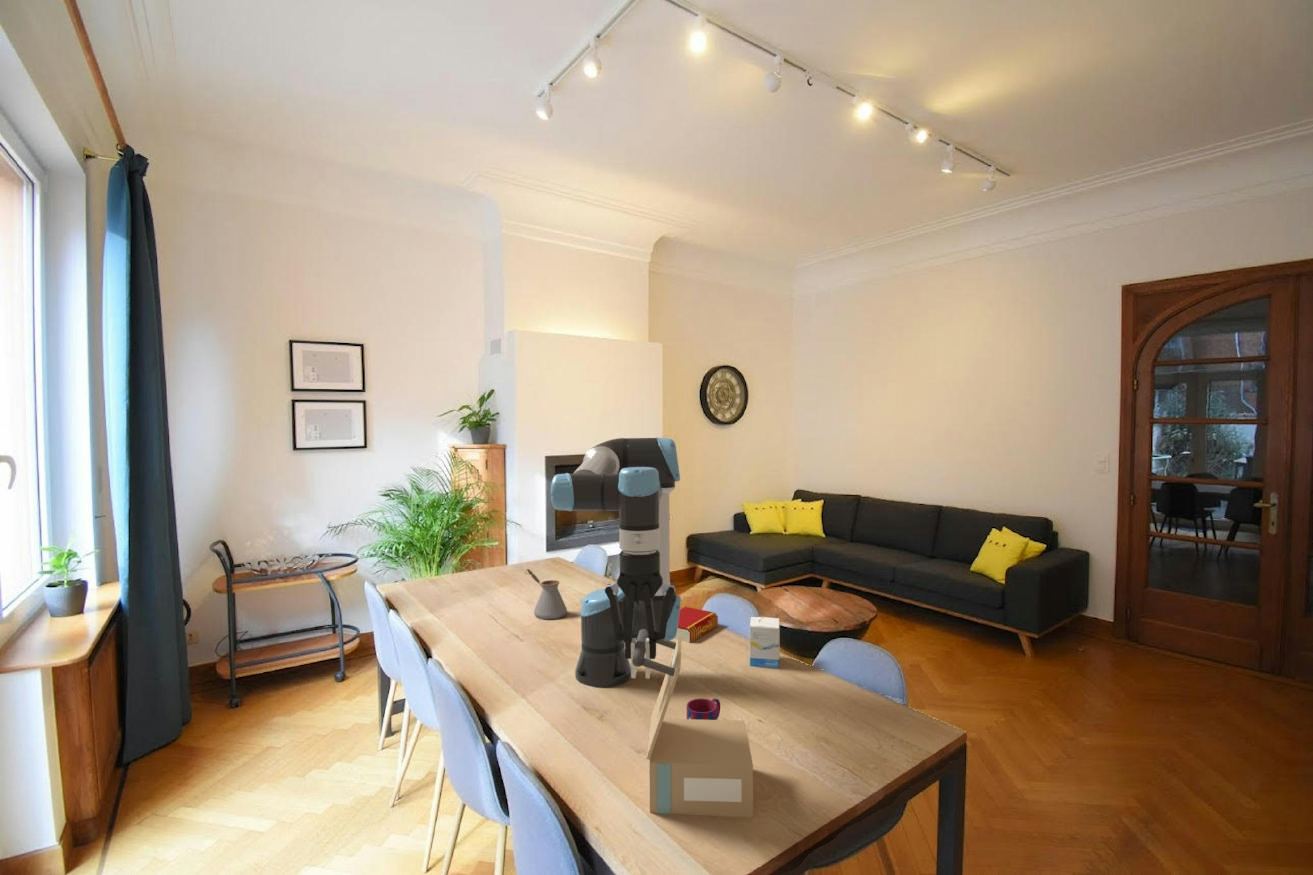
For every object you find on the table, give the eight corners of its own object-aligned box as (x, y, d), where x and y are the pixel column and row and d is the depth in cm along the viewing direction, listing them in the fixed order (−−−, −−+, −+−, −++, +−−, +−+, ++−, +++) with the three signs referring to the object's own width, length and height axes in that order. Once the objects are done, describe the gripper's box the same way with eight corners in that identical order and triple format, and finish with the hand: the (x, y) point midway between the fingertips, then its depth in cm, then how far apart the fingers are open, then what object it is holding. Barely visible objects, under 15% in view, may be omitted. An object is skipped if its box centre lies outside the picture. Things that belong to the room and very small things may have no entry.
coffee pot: (573, 618, 205) (573, 576, 205) (545, 627, 197) (544, 583, 197) (540, 605, 221) (540, 565, 220) (513, 612, 213) (513, 571, 212)
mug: (680, 735, 129) (680, 705, 129) (710, 719, 136) (710, 690, 136) (702, 747, 124) (702, 716, 124) (732, 730, 131) (732, 700, 131)
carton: (649, 819, 102) (649, 763, 102) (654, 767, 117) (654, 718, 117) (753, 822, 101) (753, 765, 101) (744, 769, 116) (744, 720, 116)
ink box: (779, 669, 163) (779, 627, 163) (749, 666, 165) (749, 625, 165) (779, 656, 172) (779, 617, 171) (750, 654, 173) (750, 615, 173)
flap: (649, 759, 102) (604, 743, 103) (654, 717, 117) (614, 703, 117) (680, 668, 102) (634, 652, 102) (681, 637, 116) (641, 624, 116)
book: (690, 645, 181) (690, 629, 181) (656, 637, 188) (656, 621, 188) (717, 627, 197) (717, 613, 196) (685, 620, 204) (685, 606, 203)
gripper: (596, 554, 105) (598, 683, 106) (679, 554, 105) (680, 684, 105) (602, 545, 113) (603, 666, 113) (680, 546, 112) (681, 667, 113)
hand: (640, 674), depth 109 cm, fingers closed on flap, 2 cm apart
